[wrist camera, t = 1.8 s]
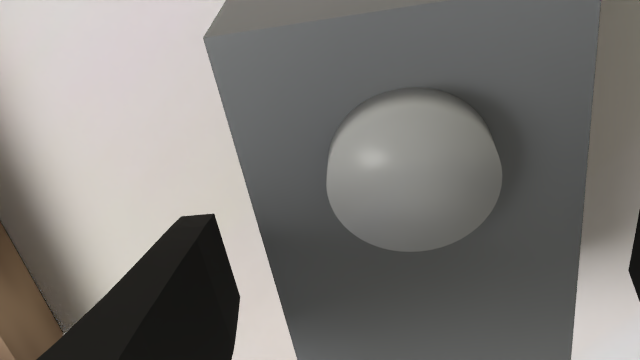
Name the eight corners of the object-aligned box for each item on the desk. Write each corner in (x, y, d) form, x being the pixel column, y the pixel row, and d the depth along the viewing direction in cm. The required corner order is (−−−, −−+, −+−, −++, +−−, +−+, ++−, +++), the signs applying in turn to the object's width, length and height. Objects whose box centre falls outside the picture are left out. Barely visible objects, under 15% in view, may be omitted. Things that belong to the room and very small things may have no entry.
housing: (513, 260, 16) (573, 454, 12) (330, 277, 17) (319, 466, 12) (514, -96, 11) (620, -9, 7) (257, -52, 12) (192, 55, 7)
